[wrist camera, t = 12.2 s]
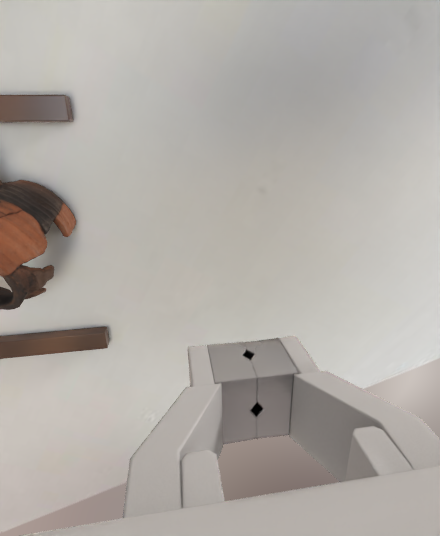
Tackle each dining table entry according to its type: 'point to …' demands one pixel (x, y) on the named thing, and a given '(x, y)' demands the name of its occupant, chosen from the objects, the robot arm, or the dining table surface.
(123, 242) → the dining table surface
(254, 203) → the dining table surface
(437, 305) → the dining table surface
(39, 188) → the broken brown mug
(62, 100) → the frame
